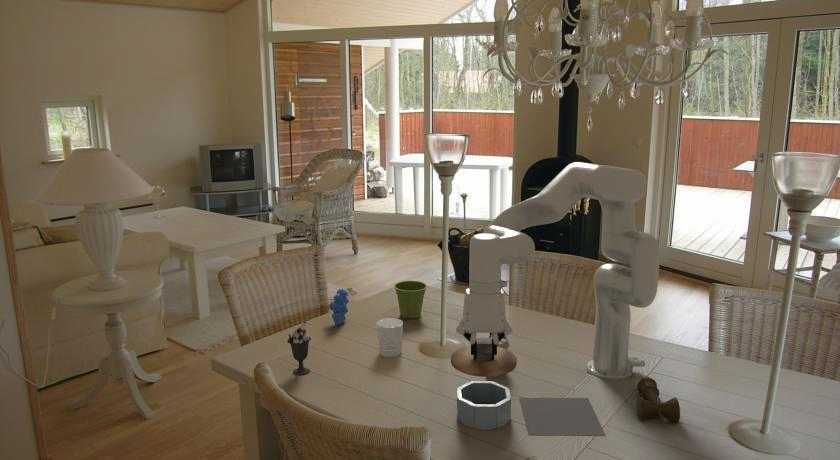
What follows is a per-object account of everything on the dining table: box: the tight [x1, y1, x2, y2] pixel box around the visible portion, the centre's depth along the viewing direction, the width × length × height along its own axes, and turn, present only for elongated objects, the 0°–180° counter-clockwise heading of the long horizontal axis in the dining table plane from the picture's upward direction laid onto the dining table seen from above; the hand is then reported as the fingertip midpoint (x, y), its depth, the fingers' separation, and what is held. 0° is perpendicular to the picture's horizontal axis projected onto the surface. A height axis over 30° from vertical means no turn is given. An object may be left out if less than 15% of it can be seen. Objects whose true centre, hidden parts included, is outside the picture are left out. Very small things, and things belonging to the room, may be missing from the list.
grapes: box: [328, 288, 350, 326], centre depth 221 cm, size 12×7×12 cm, turn 167°
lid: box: [450, 337, 518, 378], centre depth 155 cm, size 16×16×6 cm
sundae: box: [286, 321, 312, 377], centre depth 183 cm, size 7×7×15 cm
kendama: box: [636, 377, 681, 424], centre depth 160 cm, size 6×10×20 cm
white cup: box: [376, 317, 404, 358], centre depth 196 cm, size 8×8×10 cm
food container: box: [488, 333, 510, 350], centre depth 183 cm, size 12×6×10 cm, turn 168°
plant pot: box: [393, 280, 428, 320], centre depth 227 cm, size 12×12×11 cm
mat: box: [519, 397, 606, 437], centre depth 159 cm, size 18×18×1 cm
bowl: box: [456, 380, 512, 430], centre depth 158 cm, size 13×13×6 cm
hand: (483, 356), depth 155 cm, fingers closed on lid, 3 cm apart
